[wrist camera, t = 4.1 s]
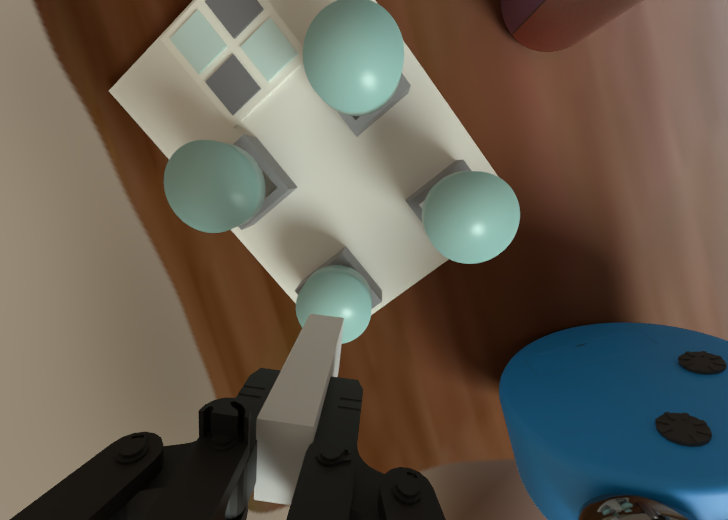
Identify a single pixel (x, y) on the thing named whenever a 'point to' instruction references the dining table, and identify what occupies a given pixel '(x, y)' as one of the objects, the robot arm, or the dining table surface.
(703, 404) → the alarm clock
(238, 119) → the board
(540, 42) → the beverage can
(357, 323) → the button
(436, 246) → the button
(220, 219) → the button
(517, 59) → the dining table surface
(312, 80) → the button
